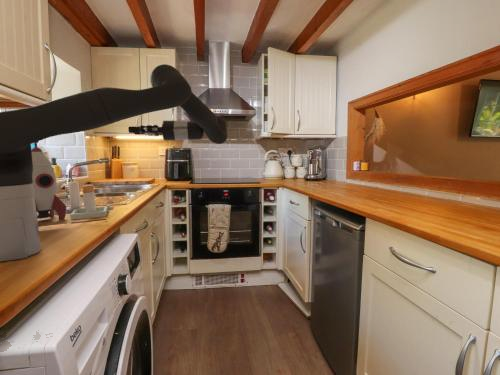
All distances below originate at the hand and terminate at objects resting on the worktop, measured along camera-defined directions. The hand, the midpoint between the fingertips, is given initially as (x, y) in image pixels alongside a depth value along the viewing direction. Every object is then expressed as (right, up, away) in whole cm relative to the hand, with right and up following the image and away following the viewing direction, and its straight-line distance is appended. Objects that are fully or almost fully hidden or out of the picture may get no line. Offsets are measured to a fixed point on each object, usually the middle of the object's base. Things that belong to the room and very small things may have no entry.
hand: (131, 130), depth 102 cm
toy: (-28, -35, -7) cm, 45 cm away
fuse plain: (-25, -31, +7) cm, 41 cm away
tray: (-16, -33, +1) cm, 37 cm away
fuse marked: (-16, -33, +1) cm, 36 cm away
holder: (-25, -33, +7) cm, 42 cm away
